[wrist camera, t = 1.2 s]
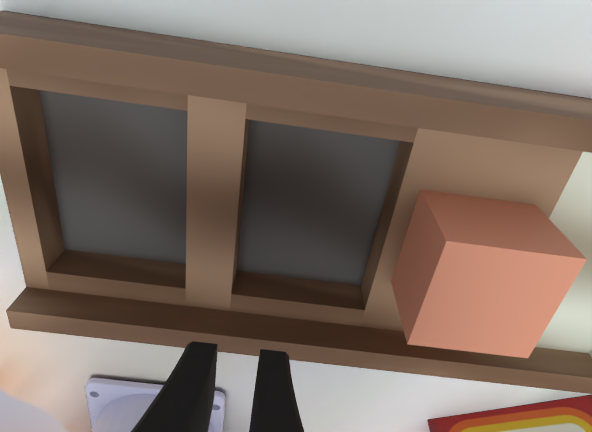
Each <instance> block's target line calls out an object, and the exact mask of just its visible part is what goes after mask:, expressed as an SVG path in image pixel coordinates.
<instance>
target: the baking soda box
mask: <svg viewBox="0 0 592 432" xmlns="http://www.w3.org/2000/svg"><path fill="white" fill-rule="evenodd" d="M428 425H429V429H430V432H592V395H587V396H580V397H574V398H567V399H561V400H554V401H548V402H541V403H534V404H528V405H521V406H515V407H508V408H501V409H495V410H488V411H482V412H475V413H468V414H462V415H455V416H449V417H442V418H435V419H429V420H428Z"/></svg>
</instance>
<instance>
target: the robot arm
mask: <svg viewBox="0 0 592 432" xmlns="http://www.w3.org/2000/svg"><path fill="white" fill-rule="evenodd" d="M217 346H218V344H213V343H204V342H195V341H192V342H190V343H189V344H187V346H186V348H185V350H184V352H183V354H182V356H181V358H180V360H179V361H178V363H177V365H176V367H175V368H174V370H173V371H172V373H171V375H170V376H169V378H168V379H167V381H166V382H165V384H164V385H158V384H149V383H139V382H130V381H121V380H112V379H102V378H90V379H89V380H88V381H87V383H86V385H85V390H86V396H87V402H88V408H89V414H90V420H91V426H92V431H91V432H223V423H224V412H225V400H226V397H225V395H224V393H222V392H220V391H215V377H216V362H217ZM249 432H304V429H303V426H302V422H301V419H300V415H299V411H298V407H297V403H296V398H295V394H294V389H293V384H292V378H291V372H290V363H289V355H288V354H287V353H286V352H283V351H274V350H266V349H260V355H259V362H258V369H257V377H256V384H255V391H254V399H253V406H252V414H251V422H250V430H249Z"/></svg>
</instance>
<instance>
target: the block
mask: <svg viewBox="0 0 592 432" xmlns="http://www.w3.org/2000/svg"><path fill="white" fill-rule="evenodd" d="M586 260H587V259H586V258H585V257H584V255H583V254H582V253H581V252H580V251H579V250H578V249H577V248H576V247H575V246H574V245H573V244H572V243H571V242H570V241H569V240H568V238H567V237H566V236H565V235H564V234H563V233H562V232H561V231H560V230H559V229H558V228H557V227H556V226H555V225H554V224H553V223H552V221H551V220H550V219H549V218H548V217H547V216H546V215H545V214H544V213H543V212H542V211H541V210H540V209H539V208H538V207H537V206H536V205H534V204H526V203H519V202H512V201H504V200H497V199H489V198H482V197H475V196H467V195H460V194H453V193H445V192H438V191H430V190H423V189H421V190H420V193H419V196H418V199H417V202H416V205H415V208H414V211H413V215H412V218H411V221H410V224H409V227H408V230H407V233H406V236H405V240H404V243H403V246H402V249H401V252H400V255H399V258H398V261H397V265H396V268H395V271H394V274H393V277H392V280H391V284H392V288H393V292H394V296H395V299H396V303H397V307H398V311H399V315H400V318H401V322H402V326H403V330H404V334H405V337H406V341H407V344H409V345H418V346H426V347H435V348H443V349H452V350H461V351H469V352H478V353H486V354H495V355H504V356H512V357H521V358H529V356H530V354H531V353H532V351H533V349H534V348H535V346H536V344H537V343H538V341H539V339H540V338H541V336H542V334H543V332H544V331H545V329H546V327H547V326H548V324H549V322H550V321H551V319H552V317H553V316H554V314H555V312H556V311H557V309H558V307H559V306H560V304H561V302H562V301H563V299H564V297H565V296H566V294H567V292H568V290H569V289H570V287H571V285H572V284H573V282H574V280H575V279H576V277H577V275H578V274H579V272H580V270H581V269H582V267H583V265H584V264H585V262H586Z"/></svg>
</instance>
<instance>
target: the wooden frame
mask: <svg viewBox="0 0 592 432" xmlns="http://www.w3.org/2000/svg"><path fill="white" fill-rule="evenodd" d="M0 175H1V179H2V183H3V188H4V192H5V196H6V201H7V205H8V209H9V214H10V218H11V222H12V227H13V231H14V235H15V239H16V244H17V248H18V252H19V257H20V261H21V265H22V270H23V274H24V278H25V283H26V288H25V289H24V290H23V292H22V293H21V294H20V295H19V296H18V297H17V299H16V300H15V301H14V302H13V303H12V304H11V306H10V307H9V308H8V309H7V310H6V312H7V316H8V319H9V323H10V327H11V328H14V329H23V330H32V331H41V332H50V333H58V334H67V335H76V336H85V337H94V338H103V339H111V340H120V341H129V342H138V343H147V344H156V345H165V346H173V347H182V348H186V346H187V344H189V343H190V342H192V341H195V342H204V343H213V344H218V346H217V351H218V352H227V353H235V354H244V355H253V356H259V355H260V349H266V350H274V351H283V352H286V353H287V354H288V355H289V360H297V361H306V362H315V363H324V364H333V365H342V366H350V367H359V368H368V369H377V370H386V371H395V372H404V373H412V374H421V375H430V376H439V377H448V378H457V379H465V380H474V381H483V382H492V383H501V384H510V385H519V386H527V387H536V388H545V389H554V390H563V391H572V392H581V393H589V394H592V99H589V98H583V97H576V96H569V95H563V94H556V93H549V92H543V91H536V90H529V89H523V88H516V87H509V86H503V85H496V84H489V83H482V82H476V81H469V80H462V79H456V78H449V77H442V76H436V75H429V74H422V73H416V72H409V71H402V70H396V69H389V68H382V67H376V66H369V65H362V64H356V63H349V62H342V61H336V60H329V59H322V58H315V57H309V56H302V55H295V54H289V53H282V52H275V51H269V50H262V49H255V48H249V47H242V46H235V45H229V44H222V43H215V42H209V41H202V40H195V39H189V38H182V37H175V36H168V35H162V34H155V33H148V32H142V31H135V30H128V29H122V28H115V27H108V26H102V25H95V24H88V23H82V22H75V21H68V20H62V19H55V18H48V17H42V16H35V15H28V14H22V13H15V12H8V11H0ZM421 189H423V190H430V191H438V192H445V193H453V194H460V195H467V196H475V197H482V198H489V199H497V200H504V201H512V202H519V203H526V204H534V205H536V206H537V207H538V208H539V209H540V210H541V211H542V212H543V213H544V214H545V215H546V216H547V217H548V218H549V219H550V220H551V221H552V223H553V224H554V225H555V226H556V227H557V228H558V229H559V230H560V231H561V232H562V233H563V234H564V235H565V236H566V237H567V238H568V240H569V241H570V242H571V243H572V244H573V245H574V246H575V247H576V248H577V249H578V250H579V251H580V252H581V253H582V254H583V255H584V257H585V258H586V259H587V260H586V262H585V264H584V265H583V267H582V269H581V270H580V272H579V274H578V275H577V277H576V279H575V280H574V282H573V284H572V285H571V287H570V289H569V290H568V292H567V294H566V296H565V297H564V299H563V301H562V302H561V304H560V306H559V307H558V309H557V311H556V312H555V314H554V316H553V317H552V319H551V321H550V322H549V324H548V326H547V327H546V329H545V331H544V332H543V334H542V336H541V338H540V339H539V341H538V343H537V344H536V346H535V348H534V349H533V351H532V353H531V354H530V356H529V358H521V357H512V356H504V355H495V354H486V353H478V352H469V351H461V350H452V349H443V348H435V347H426V346H418V345H409V344H407V341H406V337H405V334H404V330H403V326H402V322H401V318H400V315H399V311H398V307H397V303H396V299H395V296H394V292H393V288H392V284H391V280H392V277H393V274H394V271H395V268H396V265H397V261H398V258H399V255H400V252H401V249H402V246H403V243H404V240H405V236H406V233H407V230H408V227H409V224H410V221H411V218H412V215H413V211H414V208H415V205H416V202H417V199H418V196H419V193H420V190H421Z"/></svg>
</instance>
